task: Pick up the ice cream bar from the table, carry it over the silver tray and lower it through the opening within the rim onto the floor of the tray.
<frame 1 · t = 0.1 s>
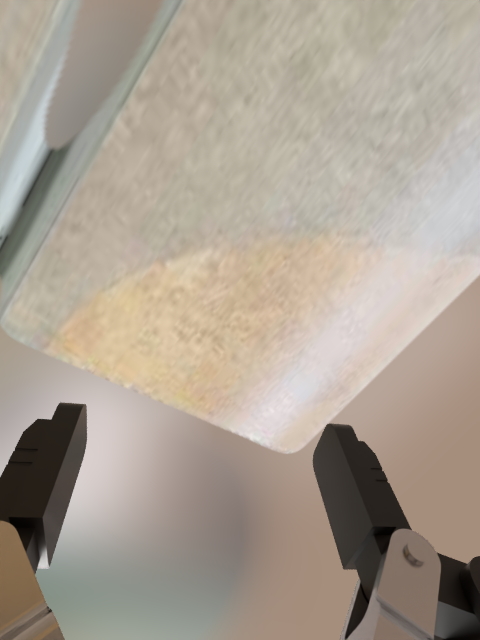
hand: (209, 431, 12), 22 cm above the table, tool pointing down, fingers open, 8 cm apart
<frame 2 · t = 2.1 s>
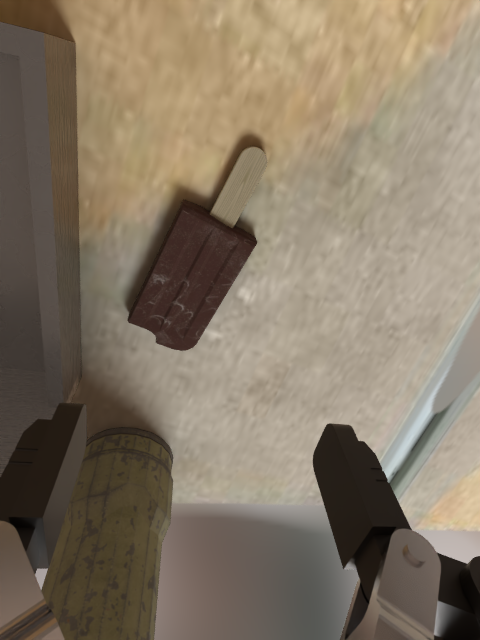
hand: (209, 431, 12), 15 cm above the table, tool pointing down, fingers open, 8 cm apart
thermos: (127, 457, 36), on the table
ice cream bar: (202, 250, 26), on the table
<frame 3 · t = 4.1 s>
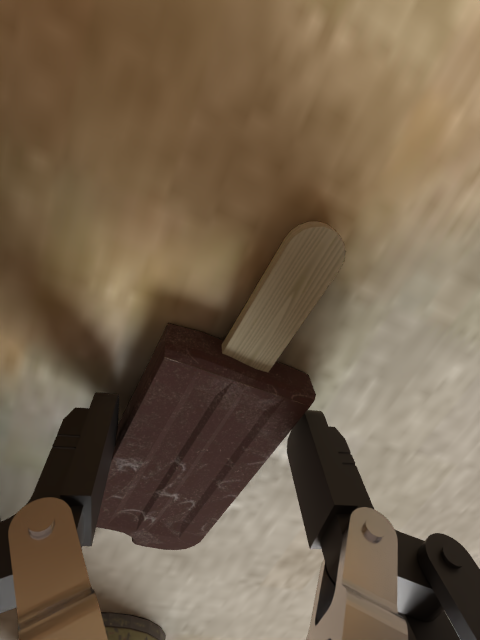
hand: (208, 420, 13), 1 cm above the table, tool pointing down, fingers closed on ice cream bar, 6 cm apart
thermos: (98, 638, 24), on the table
ice cream bar: (208, 394, 14), on the table, touching gripper
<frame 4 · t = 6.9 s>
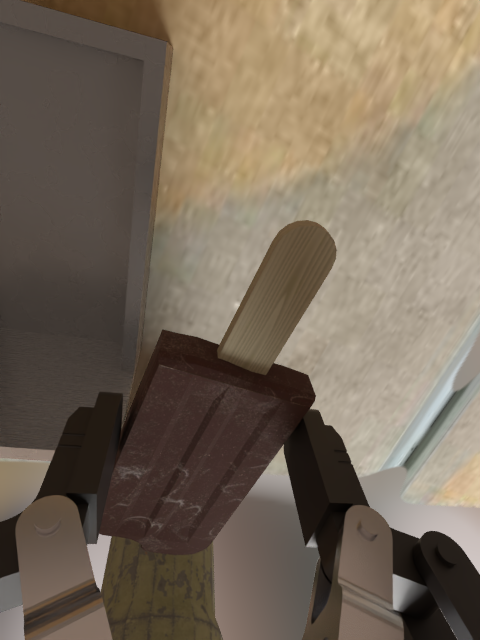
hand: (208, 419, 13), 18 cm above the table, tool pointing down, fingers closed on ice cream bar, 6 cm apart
thermos: (172, 426, 39), on the table
ice cream bar: (209, 399, 14), point 17 cm above the table, touching gripper
silver tray: (51, 210, 26), on the table
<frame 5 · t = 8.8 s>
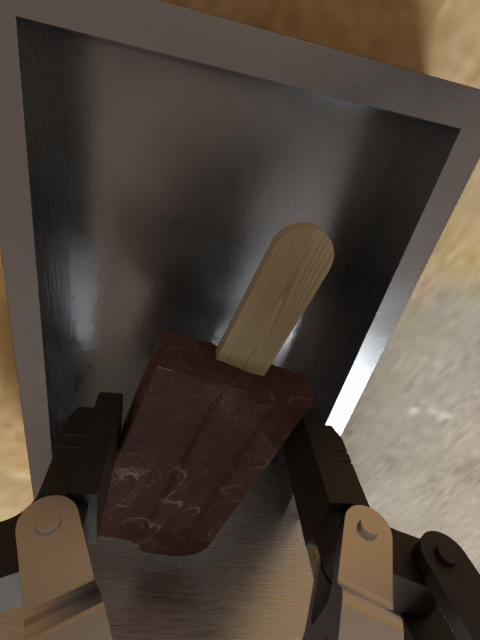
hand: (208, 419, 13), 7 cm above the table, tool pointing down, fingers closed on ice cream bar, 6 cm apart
ice cream bar: (207, 400, 14), point 6 cm above the table, touching gripper
silver tray: (203, 312, 19), on the table
when the fingers open (4 cm above the table, at t = 9.9 s): ice cream bar drops 2 cm, resting on silver tray.
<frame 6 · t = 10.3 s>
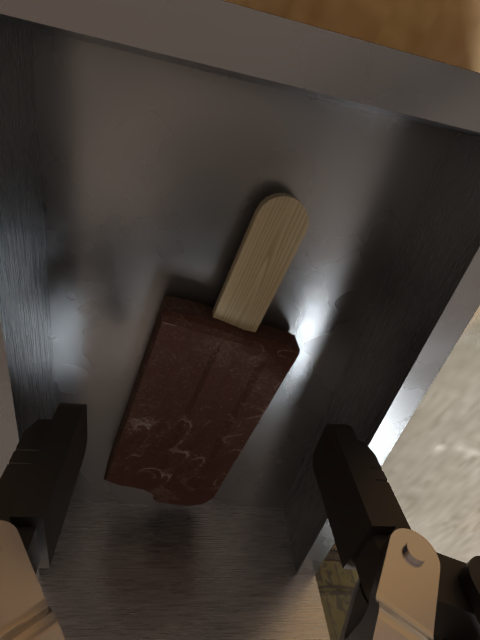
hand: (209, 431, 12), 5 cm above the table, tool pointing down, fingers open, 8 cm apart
thermos: (304, 576, 29), on the table
ice cream bar: (208, 360, 16), point 1 cm above the table, touching silver tray
silver tray: (206, 349, 16), on the table
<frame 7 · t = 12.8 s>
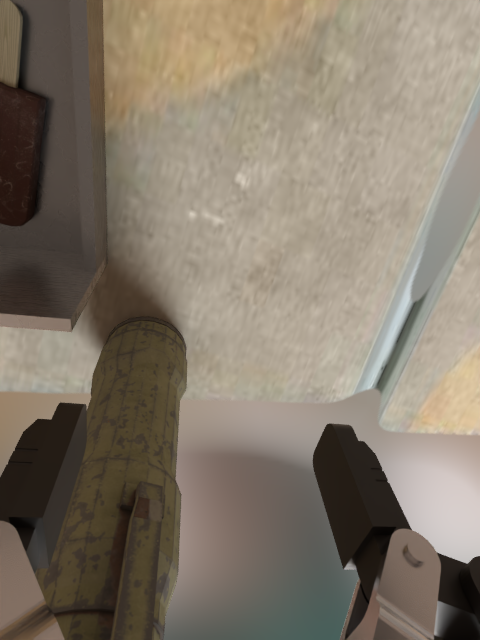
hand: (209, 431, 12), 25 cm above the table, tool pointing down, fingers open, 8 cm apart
thermos: (146, 349, 41), on the table
ice cream bar: (7, 122, 28), point 1 cm above the table, touching silver tray
silver tray: (10, 121, 29), on the table
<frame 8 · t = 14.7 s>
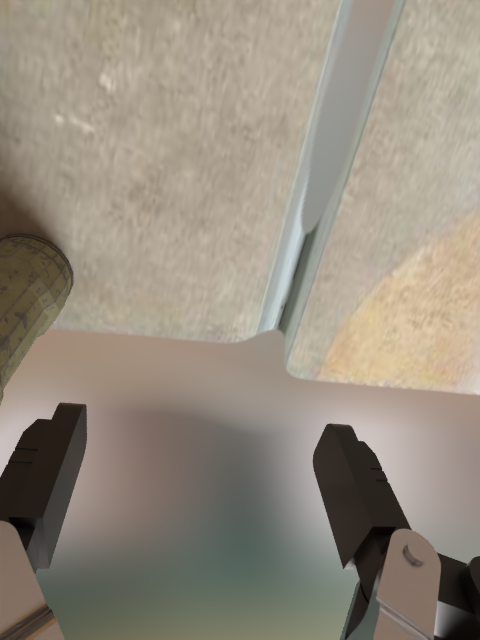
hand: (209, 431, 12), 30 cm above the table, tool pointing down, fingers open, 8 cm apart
thermos: (32, 272, 40), on the table
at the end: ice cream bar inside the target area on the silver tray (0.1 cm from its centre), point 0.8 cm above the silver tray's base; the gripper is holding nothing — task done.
